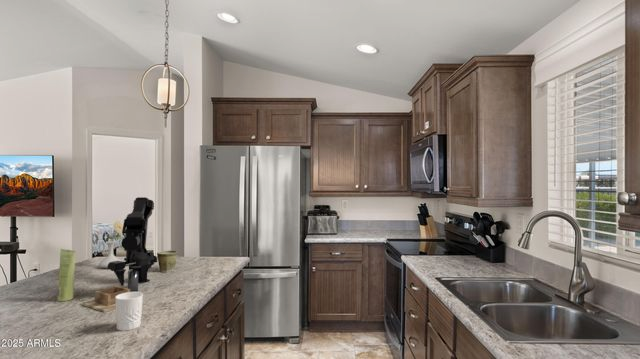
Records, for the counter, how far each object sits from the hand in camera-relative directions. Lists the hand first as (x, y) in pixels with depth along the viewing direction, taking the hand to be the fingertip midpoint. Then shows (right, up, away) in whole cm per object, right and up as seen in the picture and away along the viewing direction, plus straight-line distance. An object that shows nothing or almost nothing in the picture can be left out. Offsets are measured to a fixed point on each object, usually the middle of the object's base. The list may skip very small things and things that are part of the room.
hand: (133, 282), depth 144 cm
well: (0, -4, -14) cm, 14 cm away
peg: (0, -4, 0) cm, 4 cm away
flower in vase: (-35, -4, +43) cm, 55 cm away
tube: (-20, -4, -11) cm, 23 cm away
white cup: (+18, -4, -35) cm, 39 cm away
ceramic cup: (-2, -5, +37) cm, 37 cm away
